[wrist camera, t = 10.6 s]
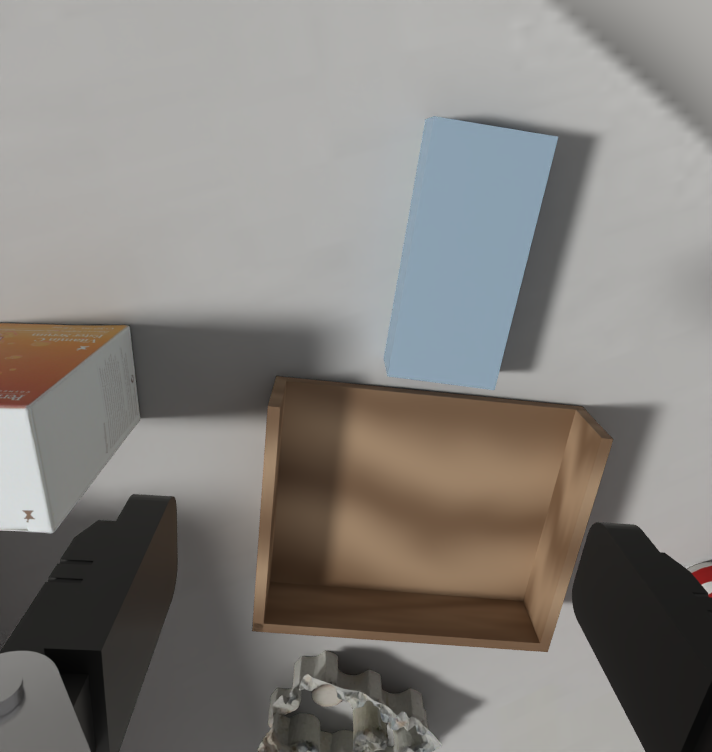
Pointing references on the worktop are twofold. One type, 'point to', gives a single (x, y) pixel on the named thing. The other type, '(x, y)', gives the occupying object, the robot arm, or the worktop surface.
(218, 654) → the worktop surface
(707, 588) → the soda can
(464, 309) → the light blue block
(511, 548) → the walnut box
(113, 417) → the small box
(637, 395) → the worktop surface
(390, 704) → the egg carton
